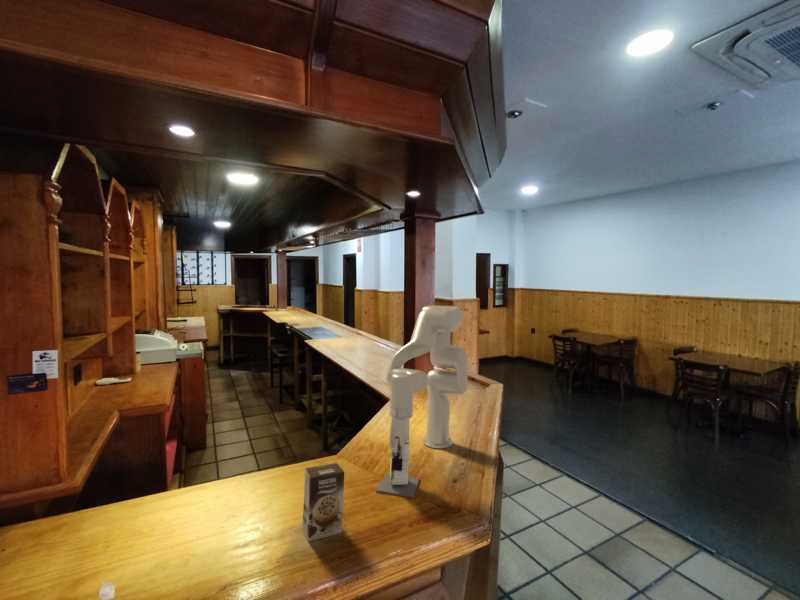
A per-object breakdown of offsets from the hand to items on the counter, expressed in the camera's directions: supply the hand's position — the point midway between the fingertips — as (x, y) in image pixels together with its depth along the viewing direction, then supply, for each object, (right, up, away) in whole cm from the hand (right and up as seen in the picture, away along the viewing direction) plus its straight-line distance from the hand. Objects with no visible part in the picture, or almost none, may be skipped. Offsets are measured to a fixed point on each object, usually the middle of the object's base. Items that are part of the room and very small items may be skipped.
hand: (399, 464), depth 124 cm
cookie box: (-20, -6, -26) cm, 33 cm away
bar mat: (0, -7, 0) cm, 7 cm away
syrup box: (0, -5, 0) cm, 6 cm away
